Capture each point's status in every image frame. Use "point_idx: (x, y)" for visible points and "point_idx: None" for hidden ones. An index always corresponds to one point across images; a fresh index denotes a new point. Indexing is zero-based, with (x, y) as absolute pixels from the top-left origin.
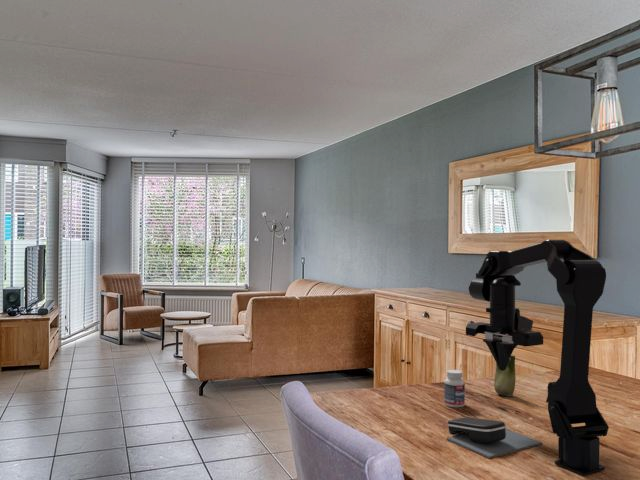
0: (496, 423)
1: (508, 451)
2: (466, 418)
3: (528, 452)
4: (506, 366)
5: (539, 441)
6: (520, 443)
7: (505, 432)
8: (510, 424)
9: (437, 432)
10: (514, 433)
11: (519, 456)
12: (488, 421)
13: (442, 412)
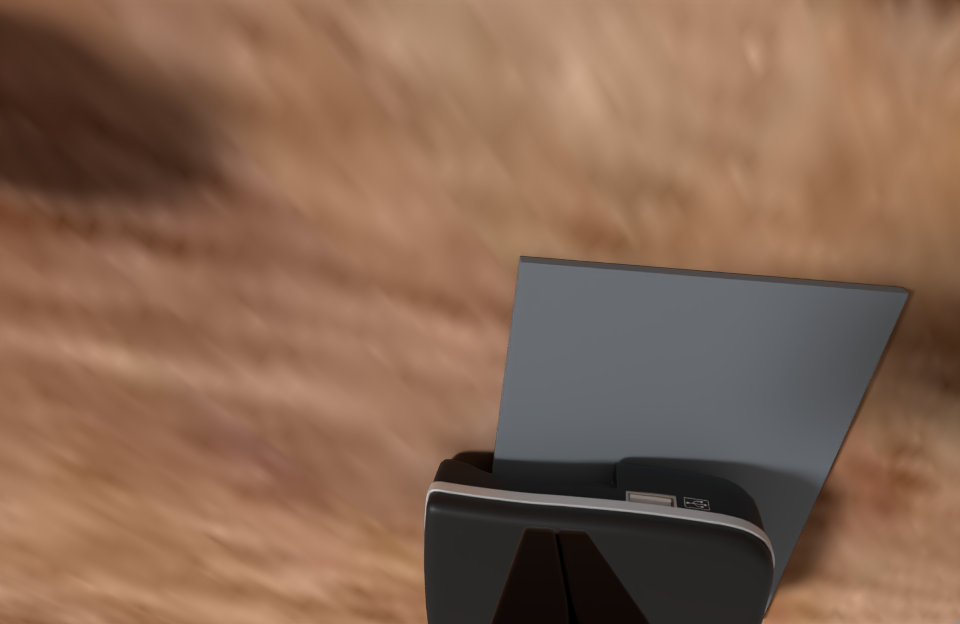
0: (743, 609)
1: (801, 529)
2: (468, 554)
3: (878, 446)
4: (618, 582)
5: (890, 297)
6: (805, 410)
7: (761, 520)
8: (531, 112)
9: (365, 569)
10: (692, 302)
11: (859, 514)
12: (658, 579)
13: (34, 310)
